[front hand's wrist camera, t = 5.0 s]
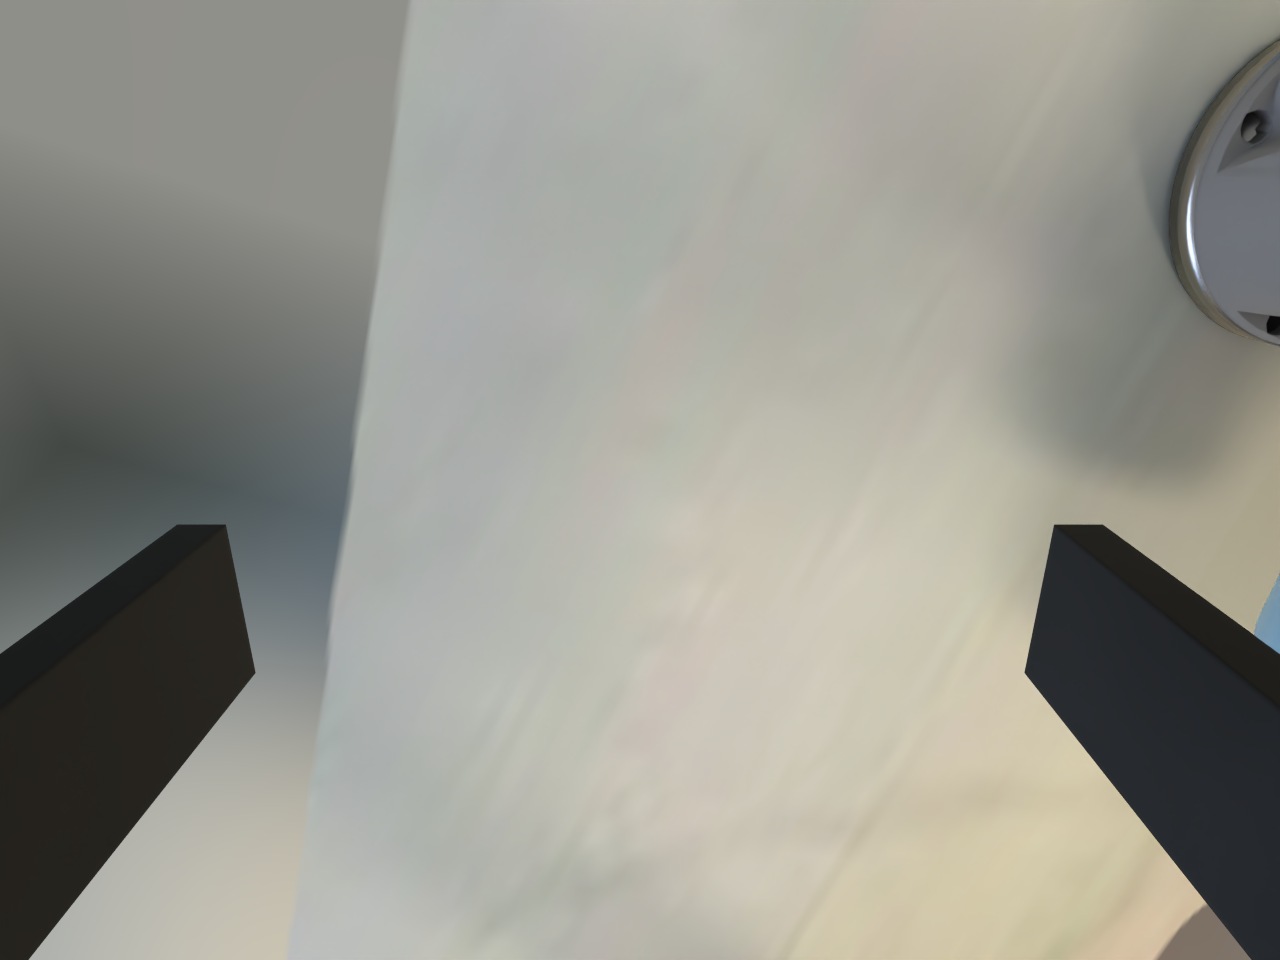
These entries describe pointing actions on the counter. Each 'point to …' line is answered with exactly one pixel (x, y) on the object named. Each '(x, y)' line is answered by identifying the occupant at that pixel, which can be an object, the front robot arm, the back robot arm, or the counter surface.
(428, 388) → the counter surface
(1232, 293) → the front robot arm
